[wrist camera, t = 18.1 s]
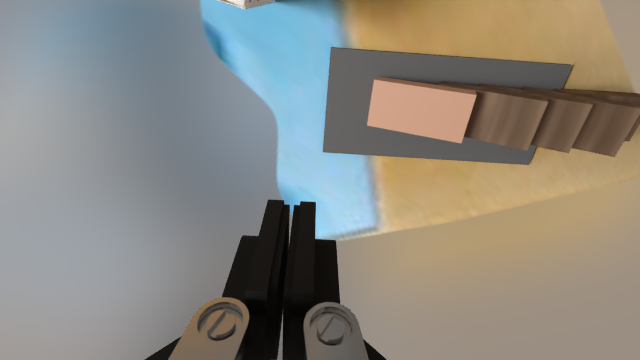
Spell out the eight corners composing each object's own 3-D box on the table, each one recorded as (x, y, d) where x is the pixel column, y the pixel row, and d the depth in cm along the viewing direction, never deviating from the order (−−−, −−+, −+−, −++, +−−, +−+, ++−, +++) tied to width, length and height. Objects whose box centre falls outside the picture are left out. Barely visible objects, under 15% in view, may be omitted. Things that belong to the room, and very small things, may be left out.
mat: (331, 47, 33) (331, 47, 33) (570, 64, 34) (572, 65, 34) (322, 150, 39) (322, 152, 39) (526, 163, 40) (528, 164, 40)
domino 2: (427, 128, 36) (527, 150, 32) (438, 83, 33) (548, 101, 30) (430, 124, 37) (526, 144, 34) (441, 80, 35) (546, 97, 31)
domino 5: (547, 137, 36) (628, 141, 37) (567, 93, 33) (654, 98, 34) (536, 130, 38) (614, 134, 38) (554, 88, 35) (637, 93, 36)
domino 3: (464, 131, 36) (568, 153, 32) (479, 86, 33) (593, 104, 30) (466, 126, 37) (565, 146, 34) (480, 83, 35) (588, 100, 31)
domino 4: (506, 134, 36) (614, 156, 32) (524, 89, 33) (642, 109, 30) (506, 129, 37) (609, 150, 34) (522, 86, 35) (635, 104, 31)
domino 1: (377, 76, 35) (475, 90, 32) (370, 120, 37) (460, 137, 34) (373, 79, 33) (476, 95, 30) (366, 125, 35) (461, 143, 33)
